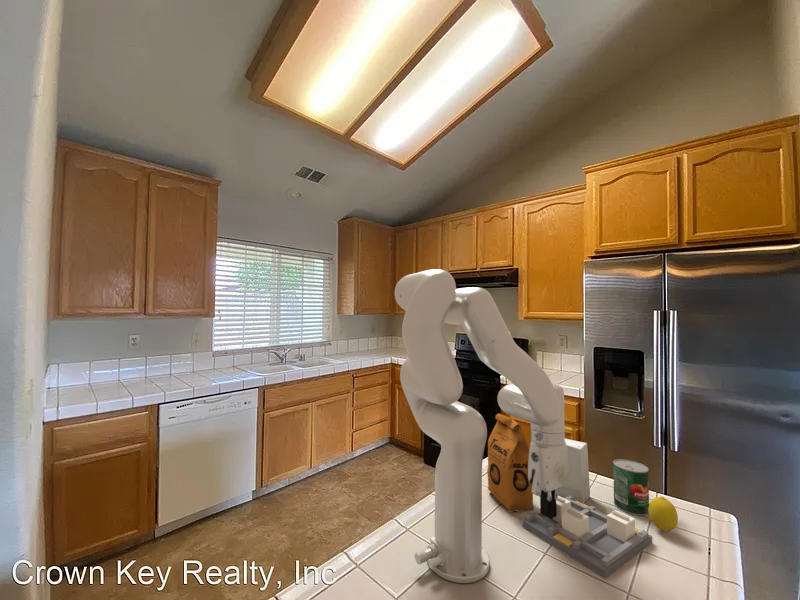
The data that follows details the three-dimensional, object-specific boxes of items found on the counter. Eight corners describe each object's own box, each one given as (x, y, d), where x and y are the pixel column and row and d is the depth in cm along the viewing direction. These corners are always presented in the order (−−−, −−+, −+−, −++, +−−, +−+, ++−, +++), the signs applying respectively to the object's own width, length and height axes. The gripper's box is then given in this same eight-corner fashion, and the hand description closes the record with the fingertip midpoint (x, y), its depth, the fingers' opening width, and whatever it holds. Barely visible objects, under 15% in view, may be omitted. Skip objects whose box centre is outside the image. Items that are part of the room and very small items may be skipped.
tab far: (561, 523, 81) (560, 503, 81) (545, 515, 84) (545, 496, 84) (570, 518, 83) (570, 499, 83) (555, 510, 86) (555, 491, 87)
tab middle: (579, 541, 75) (578, 519, 75) (561, 531, 78) (561, 510, 78) (589, 535, 77) (588, 513, 77) (571, 525, 80) (571, 505, 80)
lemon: (649, 521, 85) (648, 488, 85) (678, 531, 81) (677, 496, 82) (647, 532, 81) (647, 497, 81) (678, 542, 77) (677, 506, 77)
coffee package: (503, 515, 87) (504, 426, 88) (483, 490, 99) (483, 413, 100) (539, 511, 89) (539, 425, 90) (515, 487, 101) (515, 411, 102)
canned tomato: (618, 496, 97) (617, 456, 97) (652, 507, 91) (651, 465, 92) (610, 507, 91) (609, 464, 92) (646, 520, 86) (645, 474, 86)
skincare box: (590, 497, 96) (589, 443, 97) (582, 505, 92) (582, 448, 93) (559, 486, 102) (559, 435, 103) (551, 493, 98) (550, 440, 99)
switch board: (605, 578, 66) (605, 565, 66) (522, 526, 82) (522, 516, 82) (652, 543, 77) (652, 531, 77) (570, 503, 93) (570, 493, 93)
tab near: (626, 543, 74) (626, 521, 74) (606, 533, 77) (606, 512, 78) (635, 537, 76) (634, 516, 76) (615, 527, 80) (615, 507, 80)
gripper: (541, 447, 75) (542, 534, 74) (580, 435, 83) (581, 513, 82) (513, 437, 81) (514, 516, 81) (552, 426, 89) (553, 498, 89)
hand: (548, 514), depth 82 cm, fingers closed
